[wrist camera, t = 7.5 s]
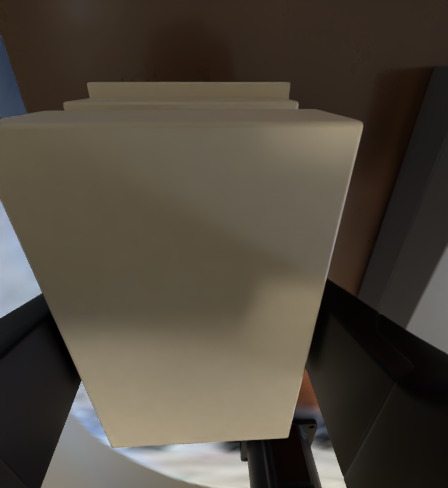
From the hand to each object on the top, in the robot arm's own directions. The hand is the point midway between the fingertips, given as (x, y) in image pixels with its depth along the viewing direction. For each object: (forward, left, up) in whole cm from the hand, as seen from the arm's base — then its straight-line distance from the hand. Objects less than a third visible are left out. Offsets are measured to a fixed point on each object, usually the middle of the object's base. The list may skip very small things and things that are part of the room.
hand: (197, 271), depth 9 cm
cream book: (0, 0, +1) cm, 1 cm away
